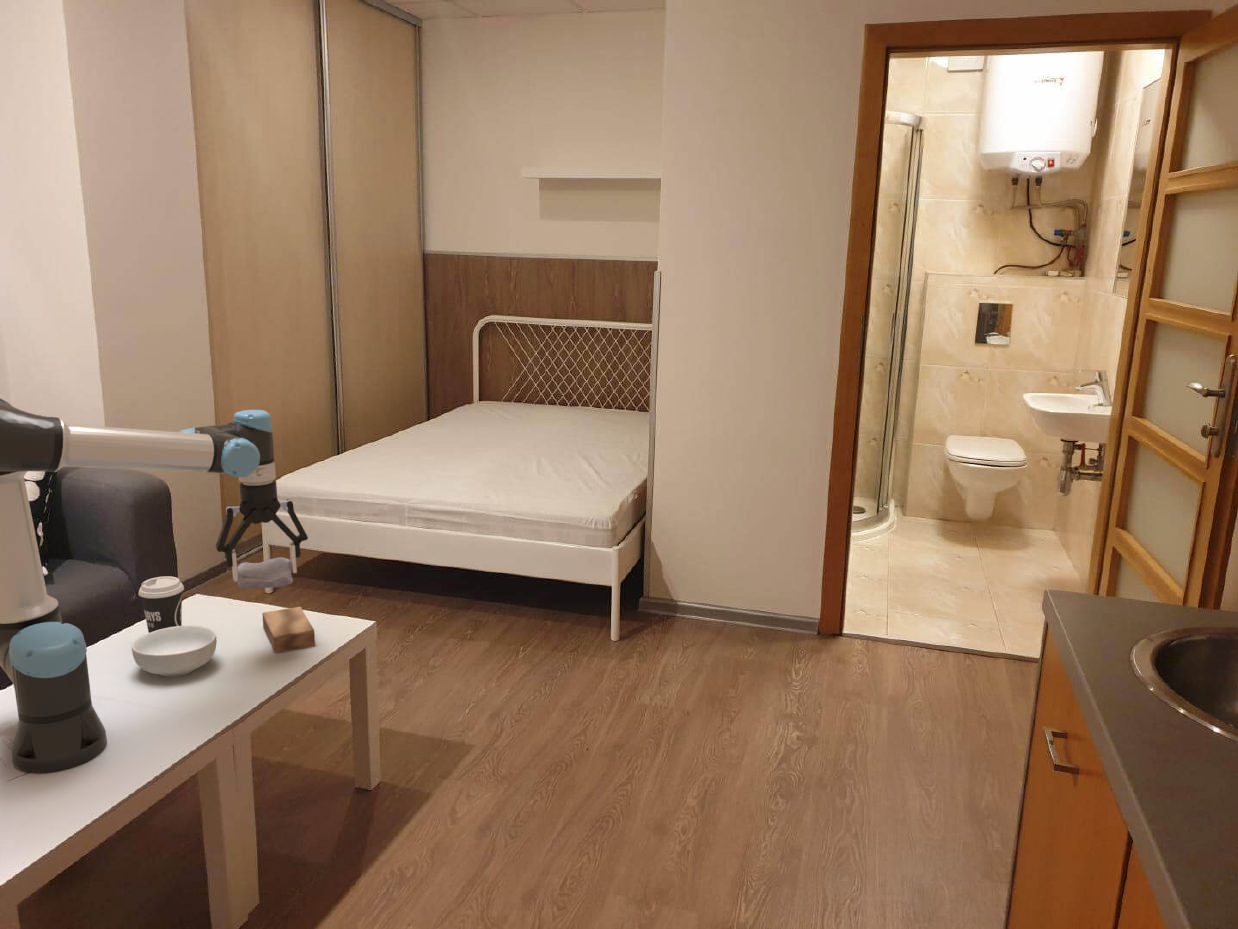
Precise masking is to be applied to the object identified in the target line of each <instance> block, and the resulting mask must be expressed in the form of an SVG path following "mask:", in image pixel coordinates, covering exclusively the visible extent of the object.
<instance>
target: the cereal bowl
mask: <svg viewBox="0 0 1238 929" xmlns="http://www.w3.org/2000/svg"><path fill="white" fill-rule="evenodd" d="M216 649H217V634H216V632H215V631H214V630H213V629H211V628H209V627H206V626H201V625H182V626H176V627H169V628H164V629H160V630H156V631H153V632H150V633H149V632H148V633H146V634H143V635H142V636H139V637H138V638H137V639H135V640H134V641H133V643H132V644H131V653H132V657H133V660H134V662H135V664H136V665H137V666H138V667H139V668H140V669H141V670H143V671H144V672H145V671H146V672H147V673H150V674H153V675H154V674H156V675H160V676H161V677H167V678H170V677H171V678H172V677H179V676H183V675H187V674H190V673H191V672H193V671H194V670H196V669H197V668H200V667H202V666H203V665H205V664H206V663H207V662H209V661H210V659H212V657H213V656H214V654H215V652H216Z"/></svg>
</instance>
